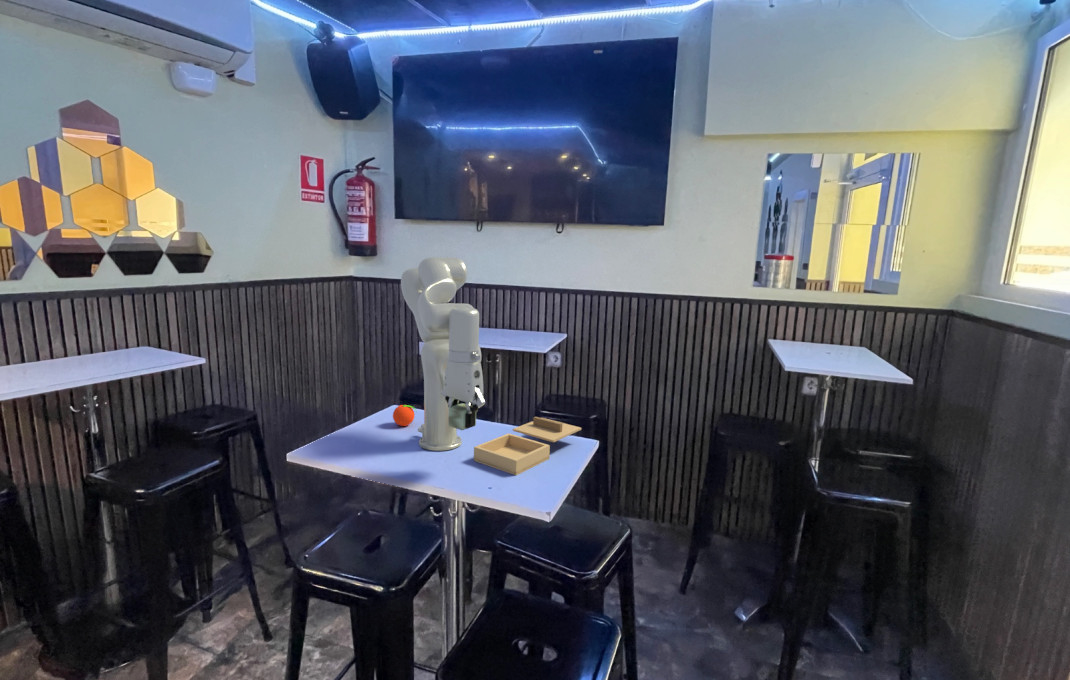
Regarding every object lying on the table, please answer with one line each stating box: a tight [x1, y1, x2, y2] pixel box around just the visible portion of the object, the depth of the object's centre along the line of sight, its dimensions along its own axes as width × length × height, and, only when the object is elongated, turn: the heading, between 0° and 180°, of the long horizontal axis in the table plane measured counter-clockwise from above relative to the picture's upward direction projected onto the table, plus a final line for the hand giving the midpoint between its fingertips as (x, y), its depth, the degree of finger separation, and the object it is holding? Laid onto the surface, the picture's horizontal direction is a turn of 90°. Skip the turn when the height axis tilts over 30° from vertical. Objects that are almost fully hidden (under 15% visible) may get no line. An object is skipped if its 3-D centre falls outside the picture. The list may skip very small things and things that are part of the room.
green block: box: [449, 402, 477, 431], centre depth 135 cm, size 5×5×5 cm
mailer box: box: [473, 432, 551, 476], centre depth 146 cm, size 15×15×4 cm
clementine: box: [392, 404, 417, 427], centre depth 171 cm, size 8×7×7 cm
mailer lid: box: [512, 416, 582, 443], centre depth 158 cm, size 15×15×3 cm
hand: (462, 423), depth 136 cm, fingers closed on green block, 4 cm apart
